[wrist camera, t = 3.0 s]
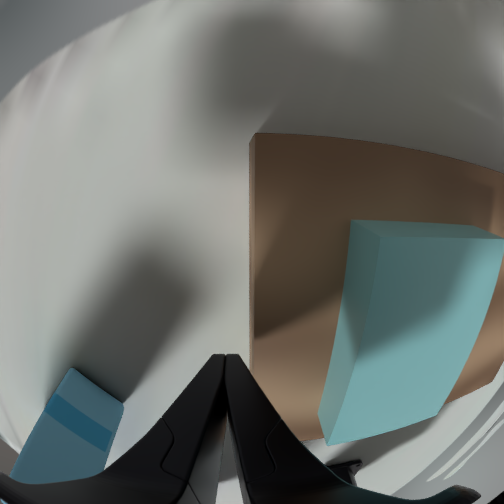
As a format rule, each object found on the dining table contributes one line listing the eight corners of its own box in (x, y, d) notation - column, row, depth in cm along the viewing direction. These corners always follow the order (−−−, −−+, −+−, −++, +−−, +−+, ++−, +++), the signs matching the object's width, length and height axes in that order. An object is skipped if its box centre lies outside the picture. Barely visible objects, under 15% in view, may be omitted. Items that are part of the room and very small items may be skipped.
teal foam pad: (420, 390, 11) (436, 415, 9) (317, 413, 11) (326, 446, 9) (473, 225, 8) (506, 239, 7) (350, 219, 8) (380, 236, 6)
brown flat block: (466, 353, 16) (492, 381, 13) (249, 393, 15) (253, 444, 12) (509, 182, 12) (550, 192, 8) (249, 142, 11) (254, 133, 7)
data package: (76, 358, 14) (-1, 500, 3) (129, 397, 16) (84, 548, 4) (43, 412, 17) (0, 500, 5) (80, 439, 18) (48, 531, 6)
